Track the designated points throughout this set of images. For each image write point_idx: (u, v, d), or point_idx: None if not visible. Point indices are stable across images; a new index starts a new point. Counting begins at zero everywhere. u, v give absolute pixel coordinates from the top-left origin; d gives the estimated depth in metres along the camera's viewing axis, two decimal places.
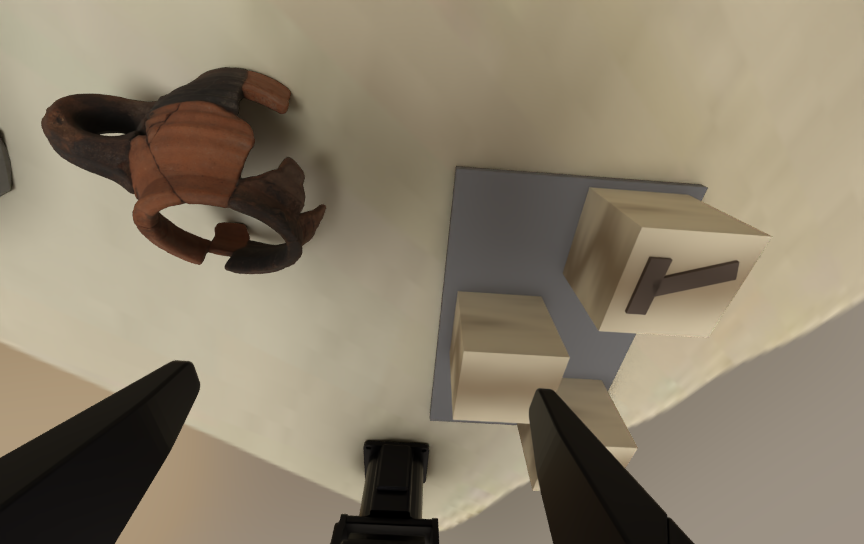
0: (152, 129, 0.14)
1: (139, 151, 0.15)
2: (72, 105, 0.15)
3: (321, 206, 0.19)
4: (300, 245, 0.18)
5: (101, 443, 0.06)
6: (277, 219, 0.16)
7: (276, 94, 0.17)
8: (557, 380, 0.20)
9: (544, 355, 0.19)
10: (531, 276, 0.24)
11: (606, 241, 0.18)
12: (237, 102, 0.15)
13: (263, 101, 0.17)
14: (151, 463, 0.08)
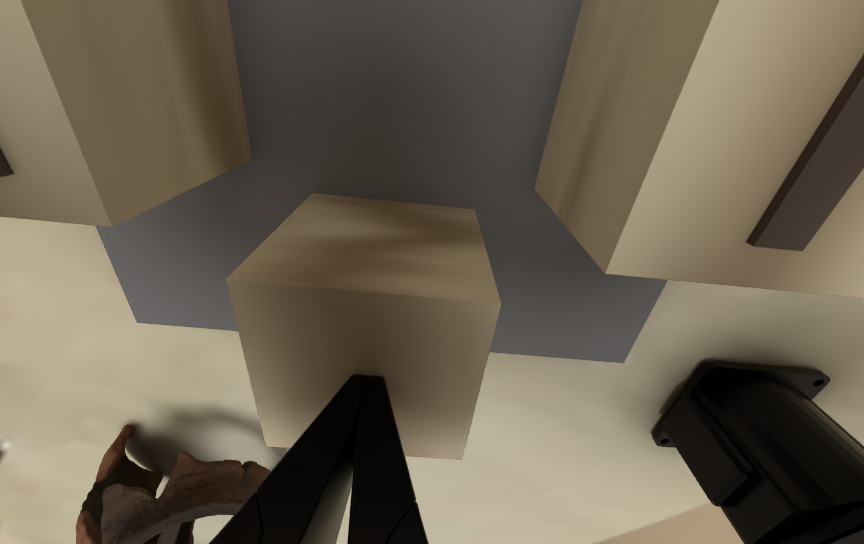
0: None
1: None
2: None
3: (178, 456, 0.17)
4: (181, 512, 0.16)
5: (340, 459, 0.07)
6: (125, 542, 0.15)
7: (106, 452, 0.19)
8: (314, 295, 0.08)
9: (238, 330, 0.08)
10: (272, 216, 0.13)
11: None
12: (85, 502, 0.18)
13: (106, 467, 0.19)
14: (351, 475, 0.08)
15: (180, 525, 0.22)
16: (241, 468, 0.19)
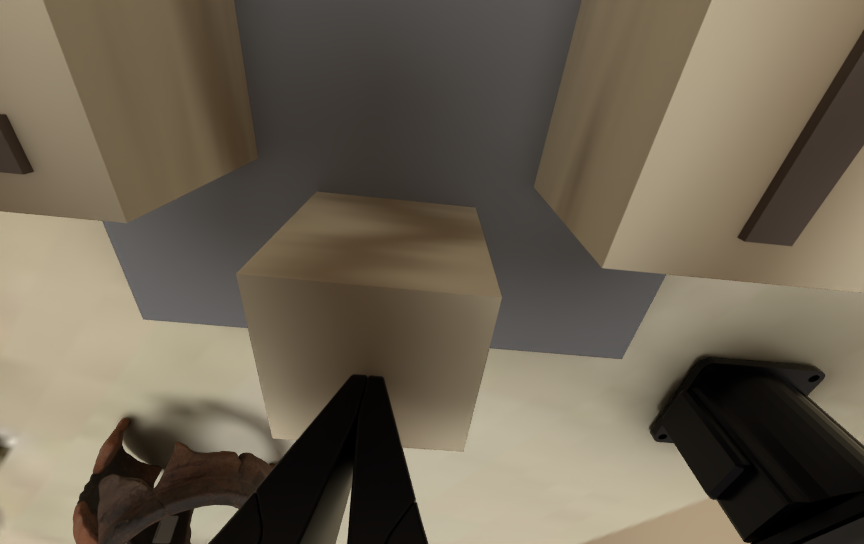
0: None
1: None
2: None
3: (174, 447, 0.17)
4: (177, 501, 0.16)
5: (340, 459, 0.07)
6: (121, 531, 0.15)
7: (103, 444, 0.19)
8: (321, 289, 0.08)
9: (247, 323, 0.08)
10: (277, 214, 0.13)
11: None
12: (82, 493, 0.18)
13: (102, 460, 0.19)
14: (351, 475, 0.08)
15: (178, 518, 0.22)
16: (237, 459, 0.19)
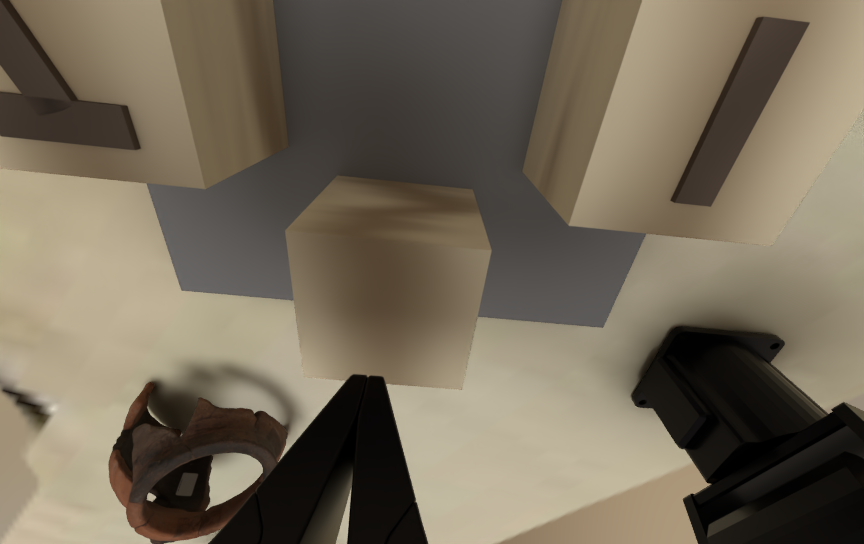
0: None
1: None
2: None
3: (198, 402, 0.19)
4: (202, 446, 0.18)
5: (340, 459, 0.07)
6: (154, 470, 0.17)
7: (132, 403, 0.21)
8: (350, 243, 0.10)
9: (291, 273, 0.11)
10: (302, 195, 0.15)
11: None
12: (115, 445, 0.20)
13: (132, 417, 0.21)
14: (351, 475, 0.08)
15: (198, 476, 0.24)
16: (253, 416, 0.21)
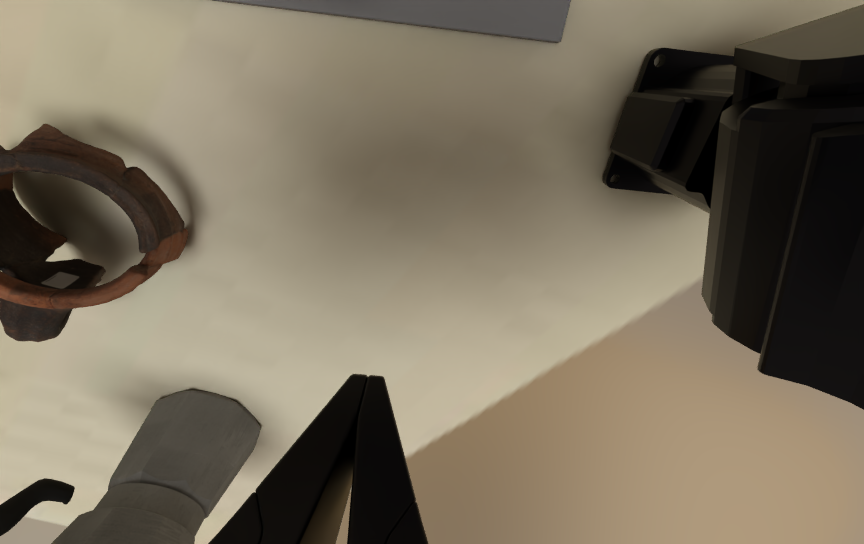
0: None
1: None
2: None
3: None
4: (31, 154, 0.14)
5: (340, 459, 0.07)
6: None
7: None
8: None
9: None
10: None
11: None
12: None
13: None
14: (351, 476, 0.08)
15: (79, 278, 0.20)
16: (123, 164, 0.17)
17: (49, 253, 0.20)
